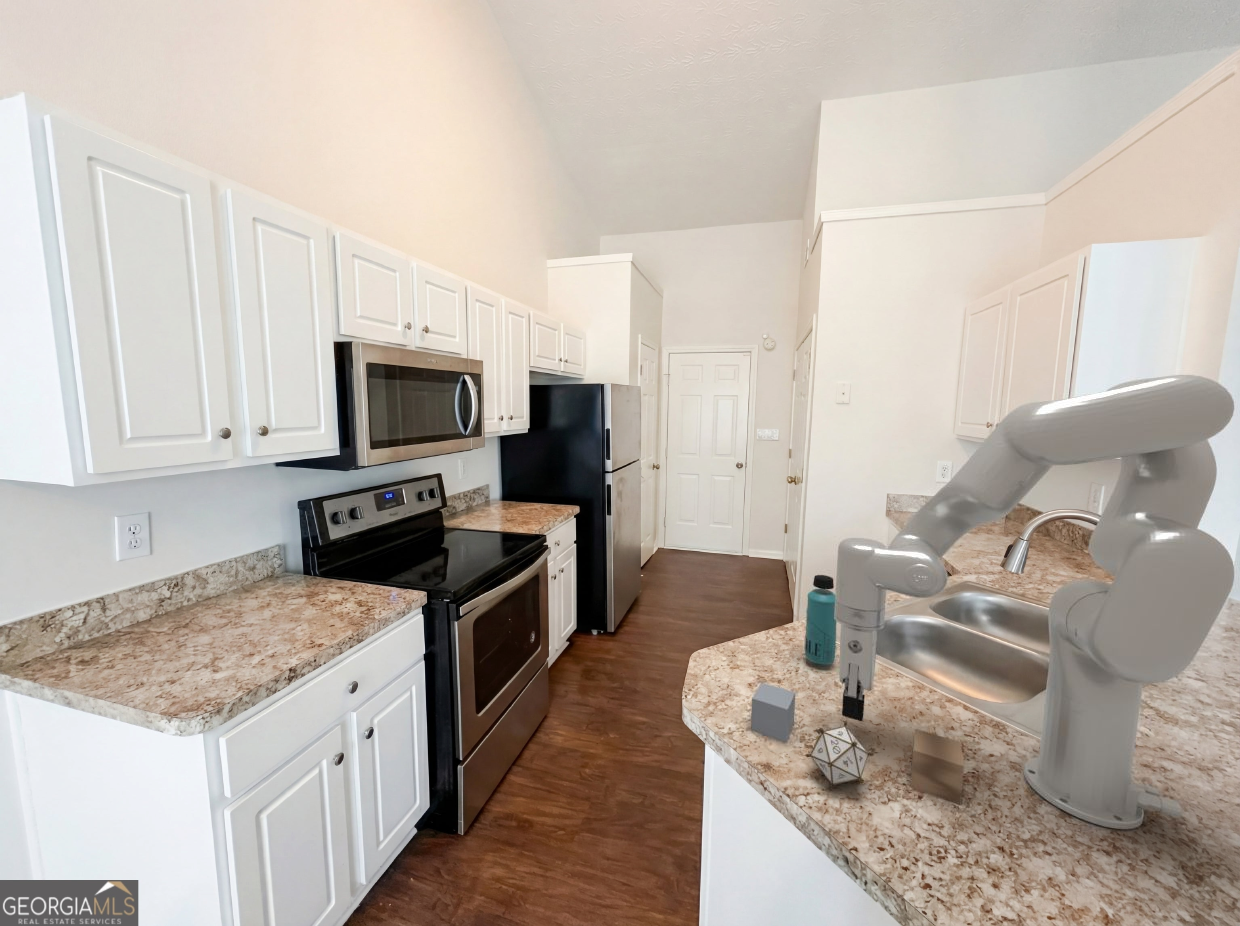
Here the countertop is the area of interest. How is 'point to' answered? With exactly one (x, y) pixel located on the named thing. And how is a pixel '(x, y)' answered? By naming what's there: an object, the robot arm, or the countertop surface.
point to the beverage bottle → (821, 622)
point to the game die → (839, 755)
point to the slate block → (773, 712)
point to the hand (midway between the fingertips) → (852, 716)
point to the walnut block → (937, 766)
